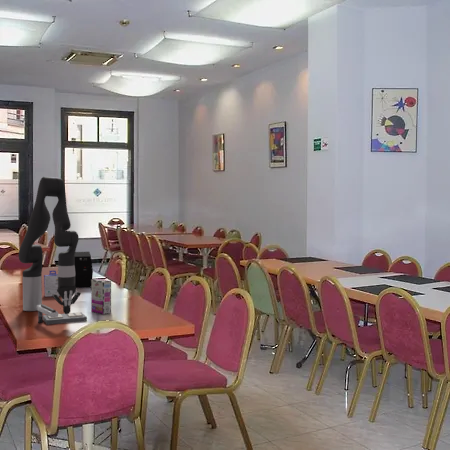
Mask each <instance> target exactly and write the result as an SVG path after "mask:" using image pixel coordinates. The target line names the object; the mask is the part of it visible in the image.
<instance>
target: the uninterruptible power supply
mask: <svg viewBox="0 0 450 450" xmlns="http://www.w3.org/2000/svg"><path fill="white" fill-rule="evenodd" d="M93 275H94V270H93V261H92V256H91V253H90V251H75V288H76V289H87V288H91V280H93Z"/></svg>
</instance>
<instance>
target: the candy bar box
mask: <svg viewBox="0 0 450 450" xmlns="http://www.w3.org/2000/svg"><path fill="white" fill-rule="evenodd" d="M90 293H91V297H90V299H91V300H90V301H91V312H92V313H95V314H98V315H110V314H112V280H107V279H103V278H102V279H101V278H96V279H94V278H93V279H92V280H91V292H90Z"/></svg>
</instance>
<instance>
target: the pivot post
mask: <svg viewBox="0 0 450 450" xmlns="http://www.w3.org/2000/svg"><path fill="white" fill-rule="evenodd" d="M43 315H44V313H42V312H40V311H38V310H37V321H38V322H37V323H38V324H43V321H44V320H43Z"/></svg>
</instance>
